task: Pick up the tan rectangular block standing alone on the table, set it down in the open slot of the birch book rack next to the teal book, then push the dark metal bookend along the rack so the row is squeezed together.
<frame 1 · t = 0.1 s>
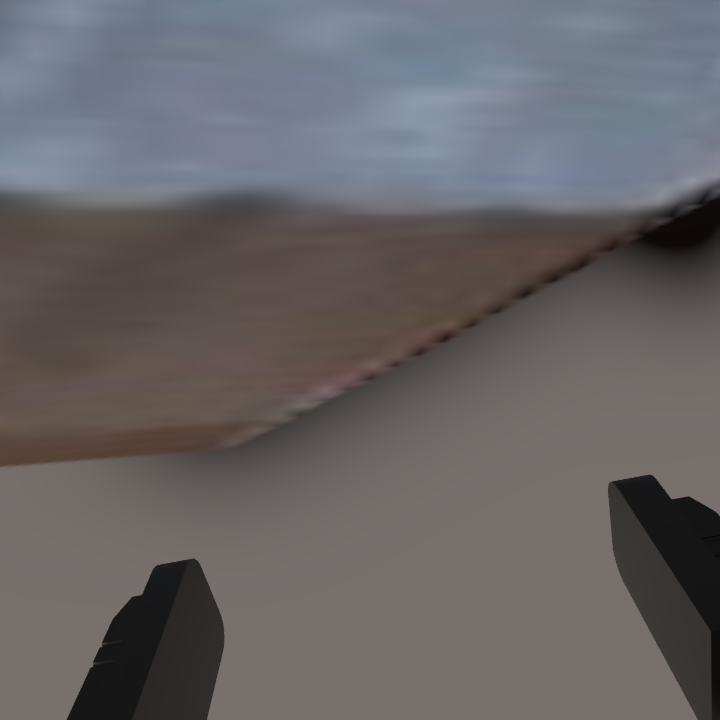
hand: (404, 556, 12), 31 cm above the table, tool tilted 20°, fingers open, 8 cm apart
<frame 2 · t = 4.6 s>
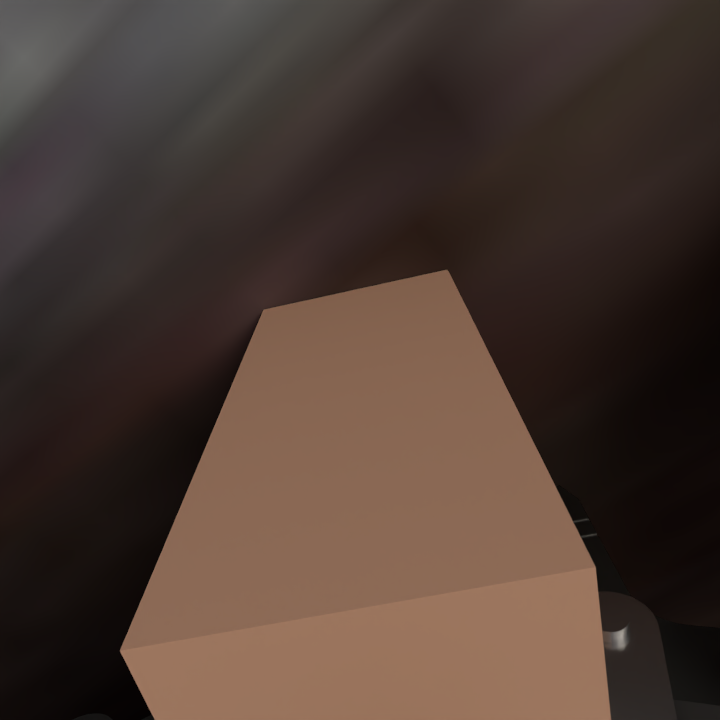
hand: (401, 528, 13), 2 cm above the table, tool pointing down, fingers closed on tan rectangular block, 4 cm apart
tan rectangular block: (396, 466, 15), on the table, touching gripper
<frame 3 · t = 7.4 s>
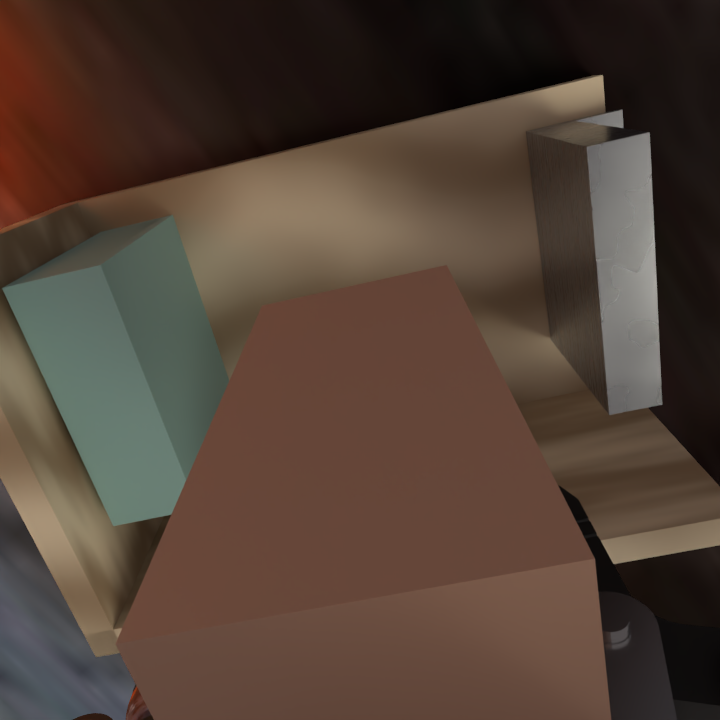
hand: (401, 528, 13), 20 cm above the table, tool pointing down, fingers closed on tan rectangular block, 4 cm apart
bookend: (613, 252, 26), point 5 cm above the table, slide at 0.0 cm
teal book: (172, 322, 31), point 1 cm above the table, touching rack
supplement bottle: (217, 598, 40), on the table
rack: (358, 304, 32), on the table
tan rectangular block: (395, 463, 15), point 18 cm above the table, touching gripper
when the fingers open (5 cm above the table, at t = 10.6 s): tan rectangular block stays where it is, resting on rack.
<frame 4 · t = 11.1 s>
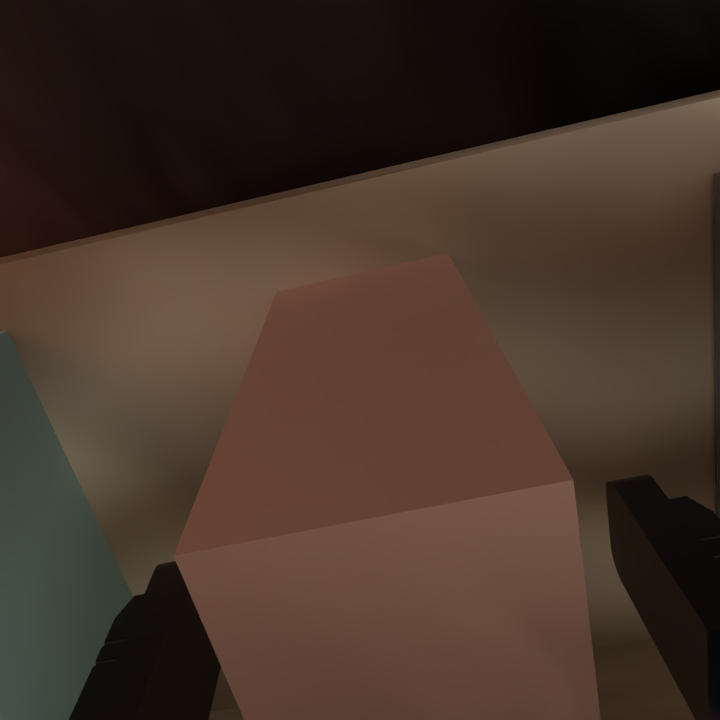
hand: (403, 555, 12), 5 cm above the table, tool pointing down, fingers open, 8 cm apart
teal book: (26, 514, 17), point 1 cm above the table, touching rack
rack: (366, 472, 18), on the table
tan rectangular block: (400, 440, 16), point 1 cm above the table, touching rack
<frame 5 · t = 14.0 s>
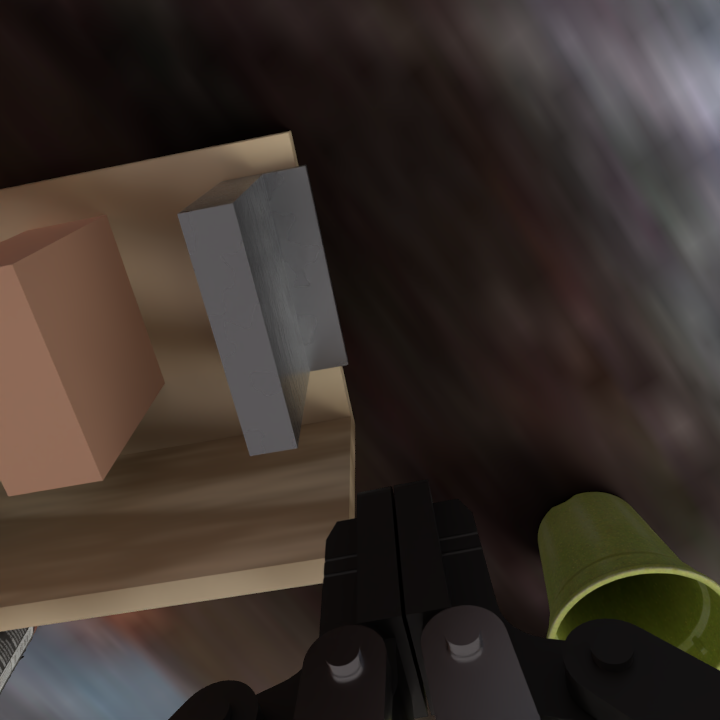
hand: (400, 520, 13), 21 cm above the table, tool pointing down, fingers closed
bookend: (279, 302, 28), point 5 cm above the table, slide at 0.0 cm
rack: (95, 333, 34), on the table
plant pot: (583, 528, 39), on the table
tan rectangular block: (99, 310, 32), point 1 cm above the table, touching rack
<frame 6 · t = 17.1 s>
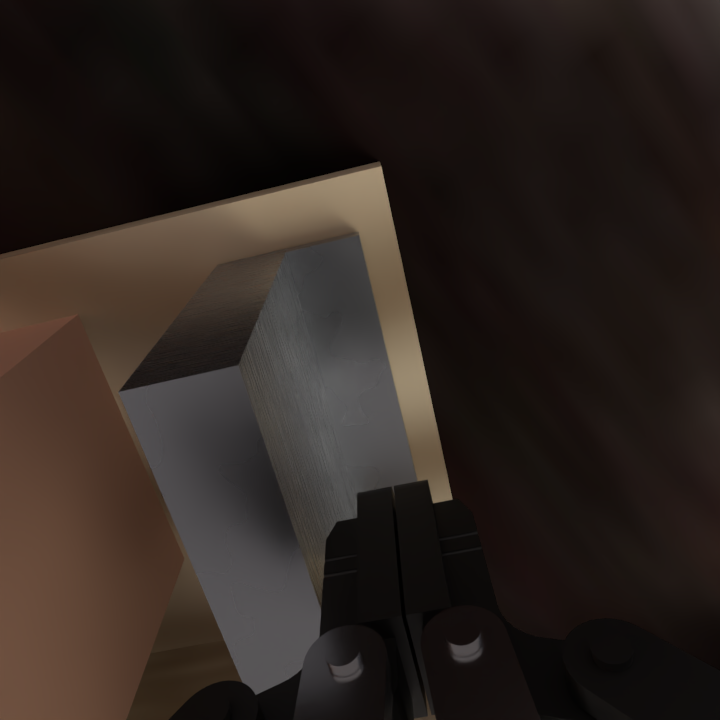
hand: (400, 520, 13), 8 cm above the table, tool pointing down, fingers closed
bookend: (327, 482, 16), point 5 cm above the table, slide at 1.5 cm, touching gripper
rack: (74, 485, 22), on the table
tan rectangular block: (75, 460, 20), point 1 cm above the table, touching rack
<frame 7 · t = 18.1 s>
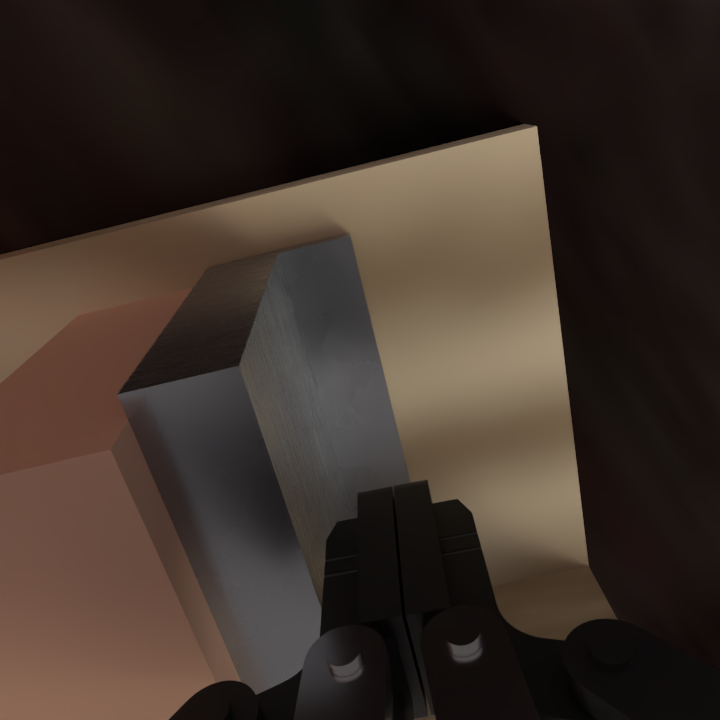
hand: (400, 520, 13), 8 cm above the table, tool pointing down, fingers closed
bookend: (322, 482, 16), point 5 cm above the table, slide at 5.8 cm, touching gripper, tan rectangular block
rack: (186, 463, 21), on the table
tan rectangular block: (198, 435, 20), point 1 cm above the table, touching bookend, rack
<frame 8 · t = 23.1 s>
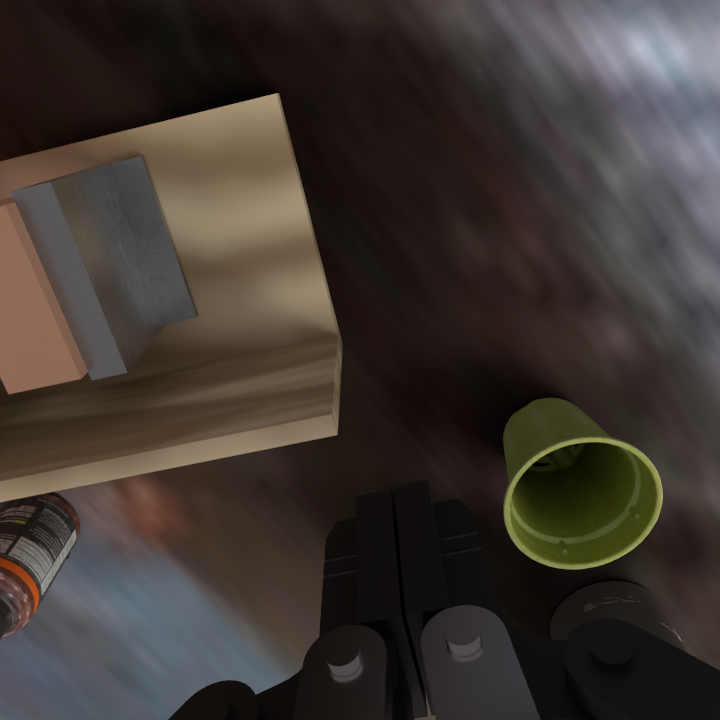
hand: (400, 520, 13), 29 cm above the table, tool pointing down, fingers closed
bookend: (118, 262, 35), point 5 cm above the table, slide at 8.9 cm
supplement bottle: (45, 518, 49), on the table
rack: (124, 271, 41), on the table
plant pot: (542, 432, 46), on the table
tan rectangular block: (80, 259, 39), point 1 cm above the table, touching rack
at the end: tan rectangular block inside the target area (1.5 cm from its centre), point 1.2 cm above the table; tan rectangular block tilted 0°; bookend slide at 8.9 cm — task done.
